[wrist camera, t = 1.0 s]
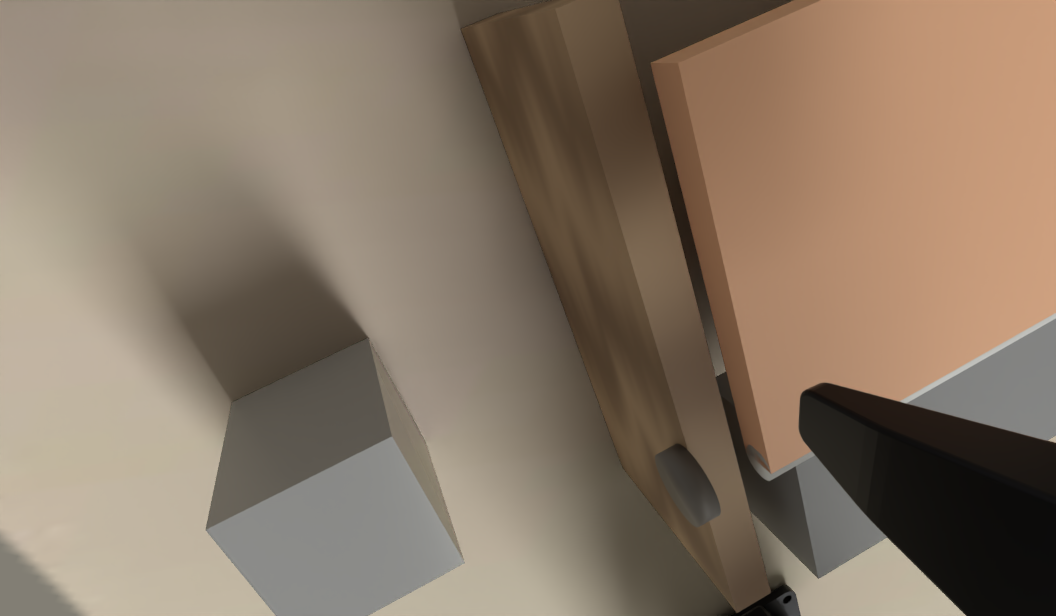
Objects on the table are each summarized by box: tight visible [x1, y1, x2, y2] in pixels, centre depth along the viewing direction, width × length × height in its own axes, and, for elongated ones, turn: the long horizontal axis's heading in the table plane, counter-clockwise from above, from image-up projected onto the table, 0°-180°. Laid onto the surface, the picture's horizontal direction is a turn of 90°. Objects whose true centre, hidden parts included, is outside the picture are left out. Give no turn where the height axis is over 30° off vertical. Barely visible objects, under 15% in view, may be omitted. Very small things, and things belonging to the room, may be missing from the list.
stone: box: [206, 338, 465, 616], centre depth 18 cm, size 4×4×6 cm
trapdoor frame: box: [461, 0, 771, 613], centre depth 19 cm, size 17×18×8 cm
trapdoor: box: [650, 0, 1056, 579], centre depth 17 cm, size 15×14×4 cm
